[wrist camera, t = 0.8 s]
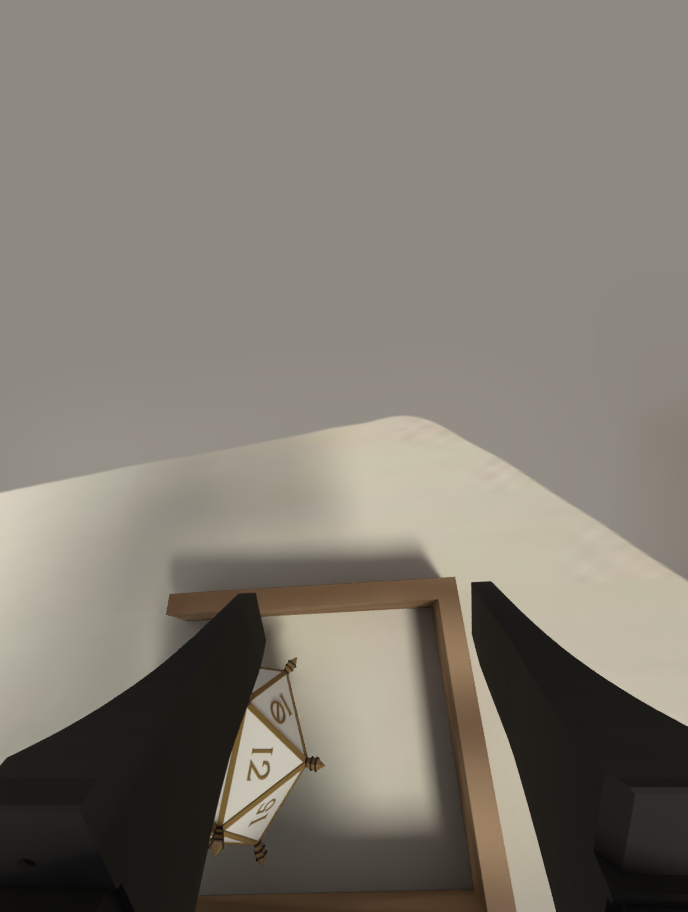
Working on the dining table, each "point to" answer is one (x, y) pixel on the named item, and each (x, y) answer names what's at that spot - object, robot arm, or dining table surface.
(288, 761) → the game die
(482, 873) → the wooden arch frame
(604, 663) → the dining table surface
